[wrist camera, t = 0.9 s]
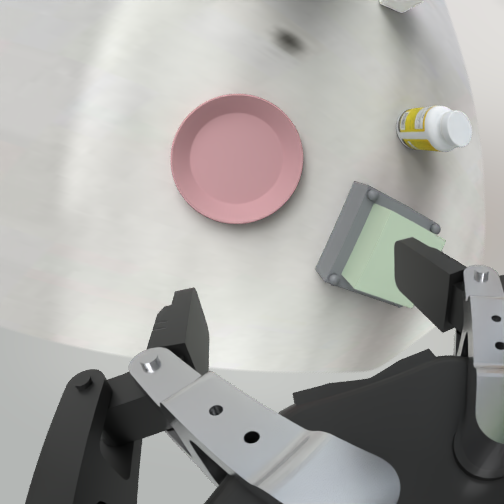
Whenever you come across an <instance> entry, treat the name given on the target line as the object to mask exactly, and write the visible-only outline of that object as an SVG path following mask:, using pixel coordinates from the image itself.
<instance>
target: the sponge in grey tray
mask: <svg viewBox="0 0 504 504" xmlns="http://www.w3.org/2000/svg"><path fill="white" fill-rule="evenodd" d="M439 232H440V226H439V225H438V224H437V223H435V222H433V221H432V220H430V219H428V218H427V217H425V216H423V215H422V214H420V213H418V212H416V211H415V210H413V209H411V208H409V207H408V206H406V205H404V204H402V203H401V202H399V201H397V200H395V199H393V198H391V197H390V196H388V195H386V194H384V193H382V192H380V191H378V190H376V189H375V188H373V187H371V186H369V185H366V184H362V183H359V182H356V181H354V183H353V185H352V188H351V190H350V193H349V195H348V197H347V200H346V202H345V204H344V206H343V209H342V211H341V213H340V216H339V218H338V220H337V222H336V225H335V227H334V229H333V231H332V234H331V236H330V238H329V240H328V242H327V245H326V247H325V249H324V251H323V253H322V255H321V258H320V260H319V262H318V264H317V266H316V268H315V269H316V271H317V272H318V273H319V275H320V276H321V277H322V279H323V280H324V281H325V282H327V283H330V284H332V285H333V286H339V287H342V288H344V289H347V290H350V291H353V292H356V293H359V294H362V295H365V296H368V297H371V298H374V299H377V300H380V301H383V302H386V303H389V304H392V305H395V306H397V307H399V308H400V307H402V306H406V307H409V308H413V306H414V304H413V303H412V302H411V301H410V300H409V299H408V298H406V297H405V296H404V295H403V294H402V293H401V292H400V291H399V290H398V288H397V286H396V283H395V277H394V244H395V242H396V241H398V240H402V239H406V238H410V237H414V238H415V239H417V240H419V241H421V242H422V243H424V244H426V245H427V246H429V247H433V248H436V249H438V250H440V251H442V249H443V247H444V244H445V242H446V240H444V239H442V238H441V237H439V236H437V235H435V234H439Z"/></svg>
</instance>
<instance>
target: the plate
mask: <svg viewBox="0 0 504 504" xmlns="http://www.w3.org/2000/svg"><path fill="white" fill-rule="evenodd" d="M302 169H303V148H302V143H301V140H300V137H299V134H298V132H297V130H296V128H295V126H294V124H293V123H292V121H291V120H290V119H289V118H288V116H287V115H286V114H285V113H284V112H283V111H282V110H280V109H279V108H278V107H277V106H275V105H274V104H272V103H270V102H269V101H267V100H264V99H262V98H259V97H256V96H252V95H246V94H229V95H223V96H219V97H216V98H213V99H211V100H208V101H206V102H205V103H203V104H201V105H200V106H198V107H197V108H196V109H194V110H193V111H192V112H191V113H190V114H189V115H188V116H187V117H186V118H185V120H184V121H183V122H182V124H181V125H180V127H179V129H178V131H177V133H176V135H175V138H174V141H173V144H172V149H171V170H172V175H173V178H174V181H175V184H176V186H177V188H178V190H179V192H180V194H181V195H182V197H183V198H184V199H185V200H186V202H187V203H188V204H189V205H190V206H191V207H192V208H194V209H195V210H196V211H197V212H199V213H200V214H202V215H204V216H206V217H208V218H210V219H212V220H215V221H218V222H222V223H228V224H244V223H250V222H254V221H258V220H261V219H263V218H265V217H267V216H269V215H271V214H273V213H274V212H276V211H277V210H278V209H280V208H281V207H282V206H283V205H284V204H285V203H286V202H287V201H288V199H289V198H290V197H291V196H292V194H293V193H294V191H295V189H296V187H297V185H298V183H299V180H300V177H301V174H302Z"/></svg>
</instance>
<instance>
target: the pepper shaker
mask: <svg viewBox="0 0 504 504" xmlns="http://www.w3.org/2000/svg"><path fill="white" fill-rule="evenodd" d="M424 1H425V0H379V2H380V4H381V5H384V6H386V7H388V8H391V9H393V10H395V11H398V12H400V13H404V12H406V11H408V10H410V9H411V8H413V7H415V6H417V5H418V4H420V3H422V2H424Z"/></svg>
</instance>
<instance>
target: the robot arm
mask: <svg viewBox="0 0 504 504" xmlns="http://www.w3.org/2000/svg"><path fill="white" fill-rule="evenodd" d="M394 277H395V283H396V286H397V288H398V290H399V291H400V292H401V293H402V294H403V295H404V296H405V297H406V298H408V299H409V300H410V301H411V302H412V303H413V304H414V305H415V306H416V307H417V308H418V309H419V310H420V311H421V312H422V313H423V314H424V315H425V316H426V317H427V318H428V319H429V320H430V321H431V322H432V323H433V324H434V325H435V326H436V327H438V329H440V330H441V331H442V332H446V331H448V330H450V329H452V328H456V330H455V336H454V354H453V356H438V357H436V356H435V355H434V354H433V353H432V352H431V351H430V349H427V350H425V351H422V352H419V353H417V354H414V355H412V356H409V357H407V358H404V359H401V360H399V361H398V362H396V363H394V364H393V365H391V366H390V367H388V368H387V369H385V370H383V371H382V372H380V373H378V374H377V375H375V376H373V377H371V378H369V379H363V380H355V381H346V382H337V383H329V384H325V385H322V386H318V387H314V388H311V389H307V390H303V391H299V392H295V393H293V398H294V403H295V404H293V405H291V406H289V407H287V408H286V409H284V410H282V411H280V412H279V413H276V412H275V411H273V410H271V409H270V408H268V407H266V406H265V405H263V404H261V403H260V402H258V401H257V400H255V399H254V398H252V397H250V396H249V395H247V394H246V393H244V392H243V391H241V390H240V389H238V388H237V387H235V386H234V385H232V384H231V383H229V382H228V381H226V380H225V379H223V378H222V377H220V376H219V375H217V374H216V373H214V372H212V371H208V367H209V331H208V327H207V323H206V320H205V316H204V313H203V310H202V307H201V304H200V301H199V298H198V294H197V292H196V289H195V288H189V289H185V290H180V291H176V292H175V294H174V298H173V301H172V305H170V306H165V307H164V308H163V309H162V310H161V311H160V312H159V313H158V314H157V317H156V320H155V324H154V327H153V331H152V333H151V337H150V340H149V343H148V347H147V350H145V351H142V352H141V353H139V354H137V355H136V356H135V357H134V358H133V359H132V360H131V362H130V364H129V372H127V373H125V374H123V375H120V376H117V377H114V378H112V379H108V380H106V378H105V376H104V374H103V373H102V372H101V371H99V370H95V369H91V370H86V371H83V372H81V373H79V374H77V375H75V376H74V377H73V378H72V379H71V380H70V381H69V382H68V384H67V386H66V388H65V390H64V393H63V395H62V398H61V400H60V403H59V405H58V407H57V410H56V413H55V415H54V417H53V420H52V423H51V425H50V428H49V431H48V433H47V436H46V439H45V442H44V445H43V447H42V451H41V453H40V456H39V459H38V463H37V465H36V469H35V472H34V475H33V478H32V482H31V485H30V488H29V492H28V495H27V499H26V503H25V504H137V492H138V478H139V466H140V456H141V445H142V438H145V437H148V436H151V435H154V434H157V433H159V432H162V431H165V432H166V433H167V434H168V435H169V437H170V438H171V439H172V440H173V441H174V442H175V443H176V444H177V445H178V446H179V447H180V449H181V450H182V451H183V452H184V453H185V454H186V455H187V456H188V457H189V458H190V459H191V460H192V461H193V462H194V463H195V464H196V465H197V466H198V467H199V468H200V469H201V471H202V472H203V473H204V474H205V475H206V476H207V477H208V479H209V480H210V481H211V482H212V483H213V484H214V485H215V486H216V487H217V489H216V490H215V491H214V492H213V493H212V495H211V496H210V498H208V500H207V501H206V502H205V503H204V504H504V275H501V276H499V275H498V272H497V271H496V270H494V269H493V268H491V267H488V266H484V265H473V266H469V267H466V266H464V265H462V264H461V263H459V262H458V261H456V260H454V259H453V258H450V257H449V256H448V255H446V254H444V253H443V252H441V251H440V250H438V249H436V248H433V247H429V246H427V245H426V244H424V243H422V242H421V241H419V240H417V239H415V238H414V237H410V238H406V239H402V240H398V241H396V242H395V244H394Z"/></svg>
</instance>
